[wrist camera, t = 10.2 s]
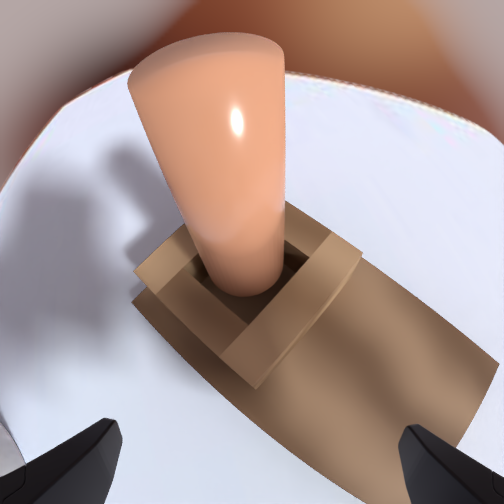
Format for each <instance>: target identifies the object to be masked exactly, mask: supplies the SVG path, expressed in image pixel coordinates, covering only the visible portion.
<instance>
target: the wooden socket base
mask: <svg viewBox="0 0 504 504" xmlns="http://www.w3.org/2000/svg"><path fill="white" fill-rule="evenodd" d="M362 254H363V252H361V251H360V250H358V249H357V248H356V247H354V246H353V245H351V244H350V243H348V242H347V241H345V240H344V239H343V238H341V237H340V236H338V235H337V234H335V233H334V232H332V231H331V230H329V229H328V228H326V227H325V226H323V225H322V224H320V223H319V222H317V221H316V220H314V219H313V218H311V217H310V216H308V215H307V214H305V213H304V212H302V211H301V210H299V209H298V208H296V207H295V206H293V205H291V204H290V203H288V202H287V201H285V232H284V265H283V270H282V272H281V275H280V277H279V278H278V280H277V281H276V282H275V284H274V285H273V286H272V287H270V288H269V289H268V290H266V291H264V292H263V293H260V294H258V295H254V296H249V297H238V296H233V295H230V294H227V293H225V292H223V291H222V290H220V289H219V288H218V287H217V286H216V285H215V284H214V283H213V282H212V280H211V278H210V276H209V274H208V272H207V270H206V268H205V266H204V264H203V262H202V259H201V257H200V255H199V253H198V251H197V249H196V247H195V244H194V242H193V240H192V238H191V236H190V234H189V231H188V229H187V227H186V225H185V223H184V224H183V225H182V226H181V227H180V228H179V229H178V230H176V231H175V232H174V233H173V234H172V235H171V236H170V237H169V238H168V239H167V240H166V241H165V242H163V243H162V244H161V245H160V246H159V247H158V248H157V249H156V250H155V251H154V252H153V253H152V254H151V255H150V256H149V257H148V258H147V259H146V260H145V261H143V262H142V263H141V264H140V265H139V266H138V267H137V268H136V269H135V270H134V271H133V272H134V273H135V274H136V275H137V276H138V277H139V278H140V279H141V280H142V281H143V282H144V284H145V285H146V286H147V287H146V288H145V289H144V290H143V291H142V292H141V293H140V294H139V295H138V296H137V297H136V298H135V299H134V300H133V301H132V304H133V305H134V306H135V307H136V308H137V309H138V310H139V311H140V313H141V314H142V315H143V316H144V317H145V318H146V319H147V320H148V321H149V323H150V324H151V325H152V326H153V327H154V328H155V329H156V330H157V331H158V332H159V333H160V334H161V336H162V337H163V338H164V339H165V340H166V341H167V342H168V343H169V344H170V345H171V346H172V347H173V348H174V349H175V350H176V351H177V352H178V353H179V354H180V355H181V356H182V357H183V358H184V359H185V360H186V361H187V362H188V363H189V364H190V365H191V366H192V367H193V368H194V369H195V370H196V371H197V372H198V373H199V374H200V375H201V376H202V377H203V378H204V379H205V380H206V381H207V382H209V383H210V384H211V385H212V386H213V387H214V388H215V389H216V390H217V391H218V392H219V393H220V394H222V395H223V396H224V397H225V398H226V399H227V400H228V401H229V402H230V403H232V404H233V405H234V406H235V407H236V408H237V409H238V410H240V411H241V412H242V413H243V414H244V415H245V416H247V417H248V418H249V419H250V420H251V421H252V422H254V423H255V424H256V425H257V426H258V427H260V428H261V429H262V430H263V431H265V432H266V433H267V434H268V435H269V436H271V437H272V438H273V439H274V440H276V441H277V442H278V443H280V444H281V445H282V446H283V447H285V448H286V449H287V450H289V451H290V452H291V453H293V454H294V455H295V456H297V457H298V458H299V459H301V460H302V461H303V462H305V463H306V464H307V465H309V466H310V467H312V468H313V469H314V470H316V471H317V472H319V473H320V474H322V475H323V476H324V477H326V478H327V479H329V480H330V481H332V482H333V483H335V484H336V485H338V486H339V487H341V488H342V489H344V490H345V491H347V492H348V493H350V494H352V495H353V496H355V497H356V498H358V499H360V500H361V501H363V502H365V503H366V504H411V502H410V498H409V495H408V492H407V489H406V485H405V481H404V476H403V470H402V465H401V460H400V455H399V450H398V443H399V440H400V438H401V436H402V433H403V431H404V429H405V427H406V426H407V425H412V424H420V425H421V426H423V427H424V428H426V429H427V430H429V431H430V432H432V433H433V434H435V435H436V436H438V437H439V438H441V439H442V440H444V441H446V442H447V443H449V444H450V445H452V446H453V447H455V448H456V447H457V445H458V443H459V442H460V440H461V439H462V437H463V435H464V434H465V432H466V430H467V428H468V427H469V425H470V423H471V421H472V420H473V418H474V416H475V414H476V412H477V410H478V409H479V407H480V405H481V403H482V401H483V399H484V397H485V395H486V393H487V391H488V388H489V386H490V384H491V382H492V380H493V378H494V375H495V373H496V371H497V368H498V366H499V363H498V362H497V361H495V360H494V359H493V358H492V357H491V356H490V355H488V354H487V353H486V352H485V351H484V350H482V349H481V348H480V347H479V346H478V345H476V344H475V343H474V342H473V341H471V340H470V339H469V338H468V337H467V336H465V335H464V334H463V333H462V332H460V331H459V330H458V329H457V328H455V327H454V326H453V325H452V324H450V323H449V322H448V321H447V320H445V319H444V318H443V317H441V316H440V315H439V314H438V313H436V312H435V311H434V310H432V309H431V308H430V307H429V306H427V305H426V304H425V303H423V302H422V301H421V300H419V299H418V298H417V297H415V296H414V295H413V294H411V293H410V292H409V291H407V290H406V289H405V288H403V287H402V286H401V285H399V284H398V283H397V282H395V281H394V280H393V279H391V278H390V277H389V276H387V275H386V274H384V273H383V272H382V271H380V270H379V269H378V268H376V267H375V266H373V265H372V264H371V263H369V262H368V261H366V260H365V259H364V258H362V257H361V256H362Z"/></svg>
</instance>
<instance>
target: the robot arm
mask: <svg viewBox="0 0 504 504" xmlns="http://www.w3.org/2000/svg"><path fill="white" fill-rule="evenodd" d="M121 446H122V435H121V432H120V429H119V426H118V423H117V421H116V420H113V419H109V418H103V419H101V420H99V421H98V422H96V423H95V424H93V425H91V426H90V427H88V428H86V429H85V430H83V431H82V432H80V433H78V434H77V435H75V436H73V437H72V438H70V439H68V440H67V441H65V442H63V443H62V444H60V445H58V446H56V447H55V448H53V449H51V450H50V451H48V452H46V453H44V454H43V455H41V456H39V457H37V458H36V459H34V460H32V461H30V462H29V463H27V464H26V465H23V466H21V467H19V468H18V469H16V470H14V471H12V472H10V473H8V474H6V475H3V476H1V477H0V504H104V503H105V500H106V497H107V495H108V492H109V489H110V487H111V484H112V481H113V478H114V474H115V470H116V466H117V462H118V458H119V454H120V450H121ZM398 450H399V455H400V460H401V465H402V470H403V476H404V481H405V485H406V489H407V492H408V495H409V498H410V502H411V504H504V477H502V476H500V475H499V474H497V473H495V472H494V471H493V472H492V470H490V469H489V468H487V467H485V466H484V465H482V464H480V463H479V462H477V461H476V460H474V459H472V458H471V457H469V456H468V455H466V454H464V453H463V452H461V451H460V450H458V449H457V448H455V447H453V446H452V445H450V444H449V443H447V442H446V441H444V440H442V439H441V438H439V437H438V436H436V435H435V434H433V433H432V432H430V431H429V430H427V429H426V428H424V427H423V426H421V425H420V424H412V425H407V426H406V427H405V429H404V431H403V433H402V436H401V438H400V440H399V443H398Z"/></svg>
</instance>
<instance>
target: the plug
mask: <svg viewBox="0 0 504 504" xmlns="http://www.w3.org/2000/svg"><path fill="white" fill-rule="evenodd" d="M127 84H128V89H129V92H130V94H131V97H132V99H133V102H134V104H135V107H136V110H137V112H138V115H139V117H140V120H141V122H142V125H143V127H144V130H145V132H146V134H147V137H148V139H149V142H150V144H151V147H152V149H153V151H154V154H155V156H156V159H157V161H158V163H159V166H160V168H161V170H162V173H163V175H164V177H165V180H166V182H167V184H168V187H169V189H170V191H171V193H172V196H173V198H174V200H175V203H176V205H177V207H178V209H179V211H180V214H181V216H182V218H183V220H184V223H185V225H186V227H187V229H188V231H189V234H190V236H191V238H192V240H193V242H194V244H195V247H196V249H197V251H198V253H199V255H200V257H201V259H202V262H203V264H204V266H205V268H206V270H207V272H208V274H209V276H210V278H211V280H212V282H213V283H214V284H215V285H216V286H217V287H218V288H219V289H220V290H222V291H223V292H225V293H227V294H230V295H233V296H238V297H249V296H254V295H258V294H260V293H263V292H264V291H266V290H268V289H269V288H270V287H272V286H273V285H274V284H275V282H276V281H277V280H278V278H279V277H280V275H281V272H282V270H283V265H284V232H285V72H284V53H283V50H282V49H281V47H280V46H279V45H278V44H276V43H275V42H273V41H271V40H269V39H267V38H264V37H262V36H258V35H253V34H247V33H232V32H230V33H229V32H228V33H214V34H206V35H200V36H196V37H192V38H188V39H184V40H182V41H178V42H176V43H173V44H171V45H168V46H166V47H164V48H162V49H160V50H158V51H156V52H155V53H153V54H151V55H150V56H148V57H147V58H145V59H144V60H143V61H141V62H140V63H139V64H138V65H137V66H136V67H135V68H134V70H133V71H132V72H131V74H130V76H129V78H128V83H127Z"/></svg>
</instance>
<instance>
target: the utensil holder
mask: <svg viewBox="0 0 504 504" xmlns="http://www.w3.org/2000/svg"><path fill="white" fill-rule="evenodd" d="M23 465H26V464H25V462H24V460H23V457H22V455H21V453H20V451H19V449H18V447H17V445H16V444H15V442H14V440H13V439H12V437H11V436H10V434H9V433H8V431H7V430H6V429H5V427H4V426H3V425H2V424H1V423H0V477H1V476H3V475H6V474H8V473H10V472H12V471H14V470H16V469H18V468H19V467H21V466H23Z"/></svg>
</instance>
